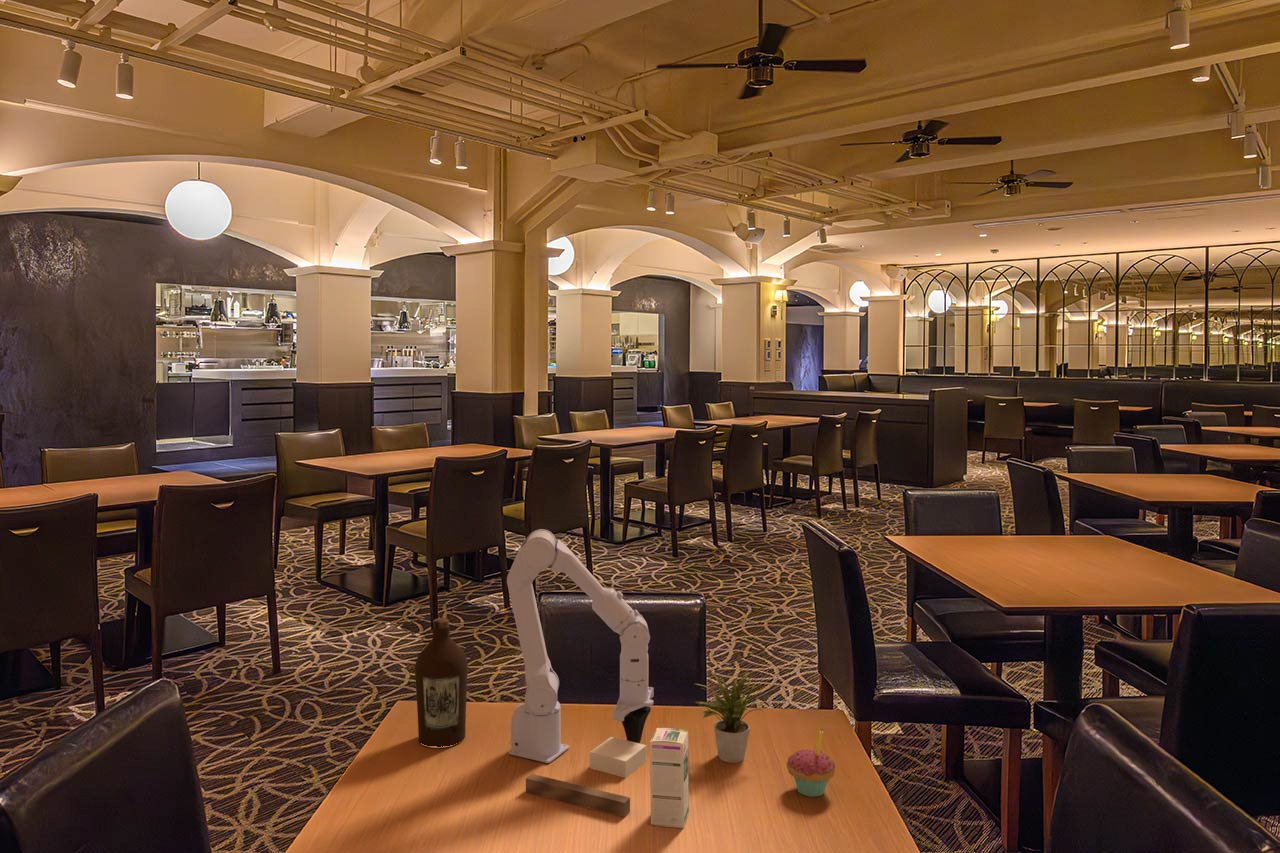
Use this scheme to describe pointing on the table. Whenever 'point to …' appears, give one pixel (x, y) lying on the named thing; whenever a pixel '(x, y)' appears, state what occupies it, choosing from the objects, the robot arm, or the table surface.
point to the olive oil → (441, 689)
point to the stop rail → (578, 795)
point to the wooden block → (618, 757)
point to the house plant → (730, 720)
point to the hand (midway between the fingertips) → (633, 743)
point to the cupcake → (811, 770)
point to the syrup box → (669, 777)
